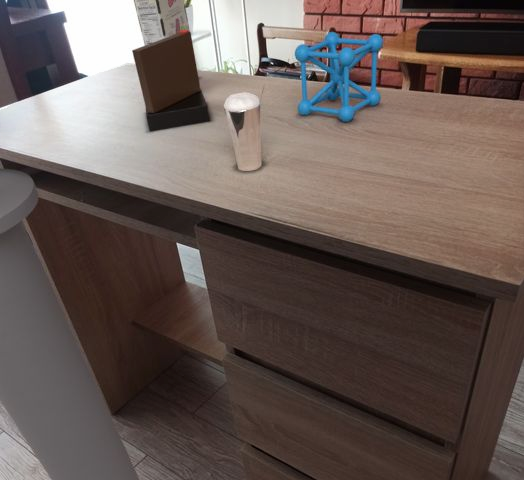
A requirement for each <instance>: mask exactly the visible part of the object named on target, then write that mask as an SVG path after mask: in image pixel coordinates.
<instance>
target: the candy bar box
mask: <svg viewBox="0 0 524 480" xmlns="http://www.w3.org/2000/svg"><path fill="white" fill-rule="evenodd" d="M133 4H134V7H135V11H136V14H137V20H138V23H139V28H140V33H141V37H142V41H143V44H144V46H145V45H148V44H151V43H153V42H156V41H159V40H161V39H164V38H167V37H169V36H172V35H175V34H177V33H179V31H181V30H189V31H190V25H189V20H188V19H189V18H188V13H187V9H186V3H185V0H133ZM190 32H191V31H190Z"/></svg>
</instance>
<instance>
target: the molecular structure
mask: <svg viewBox="0 0 524 480" xmlns="http://www.w3.org/2000/svg"><path fill="white" fill-rule="evenodd" d="M383 44H384V40H383V37H382V35H380V34H379V33H374V34H372V35H370V36H369V37H368V38H367V39H359V38H358V39H357V38H342V37H339V34H338V33H337V32H334V31H330V32H328V33H326V35H325V37H324V39H323V41H321V42H319V43H316V44H314V45H312V46H309V45H307V44H305V43H301V44H299V45H298V46H296V48H295V50H294V57H295V59H296V60H297V62H299V63H300V76H301V77H300V78H301V79H300V80H301V97H302V100H301V101H299V103H298V105H297V111H298V114H300V115H301V116H304V117H305V116H309V115H310V114H311V113H312V112H314V113H321V114H322V113H323V114H327V115H335V116H338V118H339V120H340V121H341V122H343V123H349V122H351V121H352V120H353V119H354V117H355V112H357V111H358V110H360V109H362V108H364V107H365V106H367V105H368V106H370V107H376V106H377V105H378V104H379V103H380V101H381V98H382V97H381V96H382V95H381V93H380V92H379V90H377V65H378V52H379V51H380V50H381V49H382V48H383ZM339 45H352V46H354V45H355V46H356V45H357V46H360V47H358V48H355V49H353V48H351V47H348V46H346V47H343V48H342V49H340V50H339V52H337V47H338V46H339ZM324 47H326V48H327V49H328V50H329V52H327V51H317V50H321V49H322V48H324ZM370 52H371V77H370V90H369V91H368V90H366V89H365V88H363V87H361V86H360V85H359V84H357V83H355V82H354V81H352V80H350V70H352V69H353V68H354V67H355V66H356V65H357V64H358V63H359V62H361V60H362V59H363V58H364V57H366V56H367V55H368V54H369V53H370ZM317 58H319V59H321V58H322V59H329V65H327V64H325V63H323V62H322V61H321V60H319V59H317ZM307 61H308V62H309V63H312V64H313V65H315V66H317V68H320V69H322V70H323V71H324V72H326V73H328V74H329V82H328V83H326V84H325V85H324V86H323V87H322V88H321V89H320V90H319V91H317V93H315V95H314V96H312V97H311V98H310V99H308V89H307V88H308V87H307V65H306V62H307ZM350 88H351V89H353V90H355V91H356V92H358V93H356V92H350ZM338 98H340V102H341V107H340V108H339V109H337V108H328V107H323V106H316V105H318V104H320V103H322V102H324V101H325V100H328V101H330V102H333V101H336V100H337V99H338ZM350 99H358V100H362V101H361V102H359V103H357V104H356V105H354V106H351V105H350Z"/></svg>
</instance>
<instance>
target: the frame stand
mask: <svg viewBox="0 0 524 480" xmlns="http://www.w3.org/2000/svg"><path fill="white" fill-rule="evenodd" d="M200 90H201V91H199V92H197V93H195V94H193V95H190V96H188V97H186V98H184V99H182V100H180V101H178V102H176V103H174V104H172V105H170V106H168V107H166V108H164V109H162V110H160V111H158V112H156V113H148V112H147V110H146V109H145V117H146V121H147V127H148V130H149V132H153V131H154V132H155V131H160V130H166V129H171V128H172V129H173V128H177V127H183V126H189V125H194V124H200V123H206V122H210V113H209V108H208V103H207V101H206V99H205V95H204V93H203V89H202V88H200ZM144 106H145V105H144ZM145 108H146V106H145Z"/></svg>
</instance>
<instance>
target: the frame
mask: <svg viewBox="0 0 524 480" xmlns="http://www.w3.org/2000/svg"><path fill="white" fill-rule="evenodd" d="M189 30H190V29H189ZM189 30H181V31H179V33H177V34H175V35H172V36H169V37H167V38H164V39H161V40H159V41H156V42H153V43H151V44H148V45H145V44H144V45H142V46H140V47H138V48H137V47H136V48H135V49H132V50H131V53H132V56H133V60H134V65H135V68H136V73H137V77H138V81H139V85H140V90H141V94H142V97H143V102H144V106H146V107H145V111H146V110H147V112H148V113H156V112H158V111H160V110H162V109H164V108H166V107H168V106H170V105H172V104H174V103H176V102H178V101H180V100H182V99H184V98H186V97H188V96H190V95H193V94H195V93H197V92H199V91H201V90H202V89H201V83H200V78H199V73H198V67H197V62H196V61H197V60H196V57H195V55H196V54H195V49H194V43H193V38H192V31H189ZM200 89H201V90H200Z"/></svg>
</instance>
